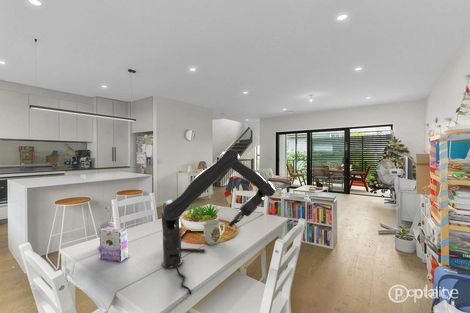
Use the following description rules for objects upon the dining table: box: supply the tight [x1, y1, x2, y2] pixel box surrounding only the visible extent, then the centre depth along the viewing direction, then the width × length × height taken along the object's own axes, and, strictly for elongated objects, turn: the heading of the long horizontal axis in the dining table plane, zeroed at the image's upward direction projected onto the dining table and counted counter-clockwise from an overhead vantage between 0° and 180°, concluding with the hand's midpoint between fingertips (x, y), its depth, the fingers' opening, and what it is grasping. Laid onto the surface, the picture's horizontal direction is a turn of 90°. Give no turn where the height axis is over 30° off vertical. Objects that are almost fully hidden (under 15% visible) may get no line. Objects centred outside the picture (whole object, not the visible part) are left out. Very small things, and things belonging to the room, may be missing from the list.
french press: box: [97, 206, 116, 237], centre depth 134 cm, size 10×12×25 cm
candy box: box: [98, 226, 129, 263], centre depth 121 cm, size 14×6×16 cm, turn 74°
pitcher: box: [200, 219, 226, 246], centre depth 141 cm, size 11×18×14 cm, turn 129°
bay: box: [181, 228, 206, 253], centre depth 143 cm, size 22×29×2 cm
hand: (229, 225), depth 138 cm, fingers closed
